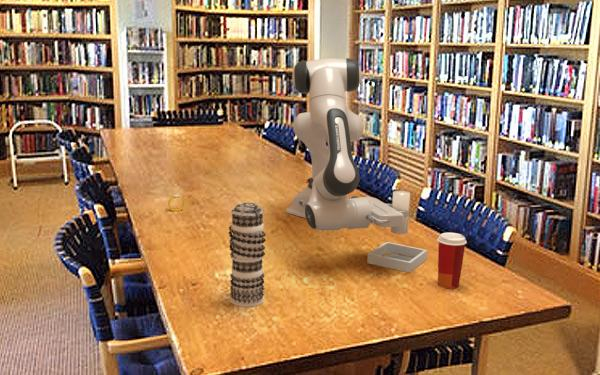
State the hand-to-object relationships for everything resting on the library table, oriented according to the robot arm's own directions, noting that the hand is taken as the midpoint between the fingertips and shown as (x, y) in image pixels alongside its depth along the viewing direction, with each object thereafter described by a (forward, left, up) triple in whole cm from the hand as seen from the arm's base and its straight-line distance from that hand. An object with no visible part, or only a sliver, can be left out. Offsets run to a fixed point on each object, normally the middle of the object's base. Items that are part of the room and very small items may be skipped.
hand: (403, 210), depth 185 cm
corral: (-1, -1, -16) cm, 16 cm away
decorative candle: (-21, -50, -16) cm, 56 cm away
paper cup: (+18, -10, -16) cm, 26 cm away
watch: (-93, +1, -16) cm, 94 cm away
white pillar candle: (-1, -1, -6) cm, 7 cm away
